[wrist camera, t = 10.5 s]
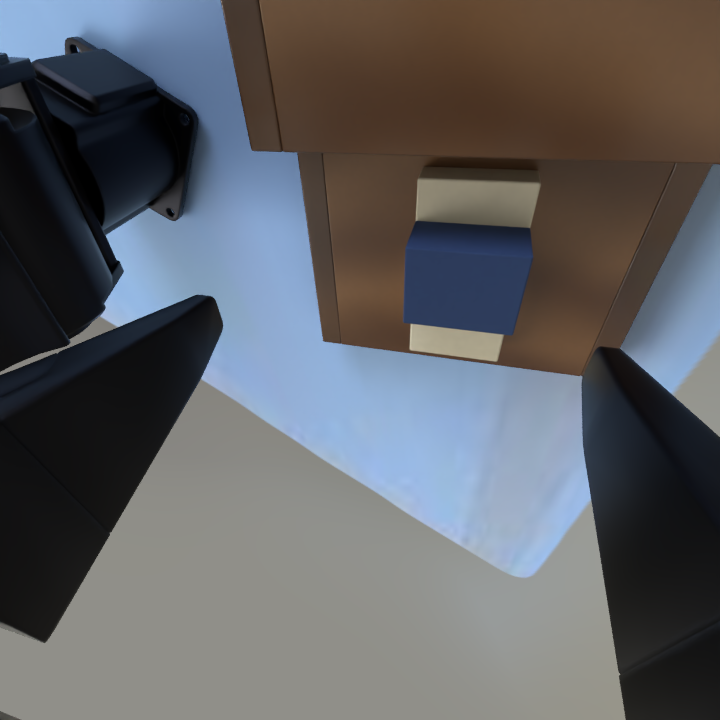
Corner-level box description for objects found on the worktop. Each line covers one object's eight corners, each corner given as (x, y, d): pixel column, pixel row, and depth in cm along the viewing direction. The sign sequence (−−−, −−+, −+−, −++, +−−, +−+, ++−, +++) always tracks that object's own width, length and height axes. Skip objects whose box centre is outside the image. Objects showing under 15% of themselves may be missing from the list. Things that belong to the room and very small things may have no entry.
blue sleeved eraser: (497, 344, 22) (496, 397, 19) (413, 333, 23) (400, 383, 20) (539, 169, 16) (546, 209, 13) (422, 165, 17) (406, 202, 14)
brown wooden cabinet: (598, 355, 23) (619, 439, 19) (332, 322, 27) (299, 386, 22) (1074, -665, 7) (1911, -1619, 3) (249, -413, 11) (78, -678, 6)
